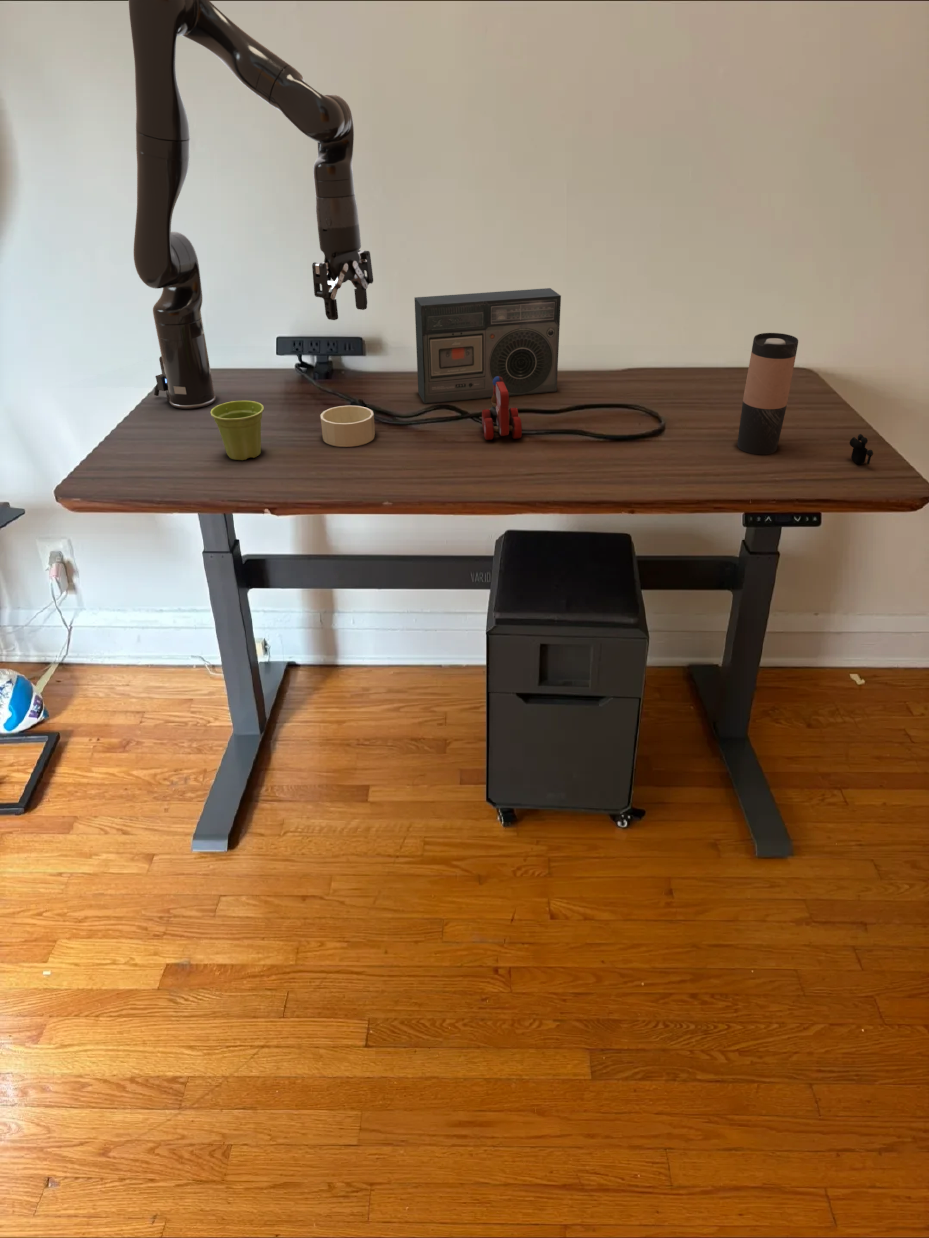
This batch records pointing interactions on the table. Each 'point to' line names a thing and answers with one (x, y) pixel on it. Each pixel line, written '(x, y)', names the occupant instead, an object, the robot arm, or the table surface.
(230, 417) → the plant pot
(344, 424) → the beige round bowl
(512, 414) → the red toy vehicle
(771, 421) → the travel mug
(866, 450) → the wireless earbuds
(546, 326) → the cassette player
